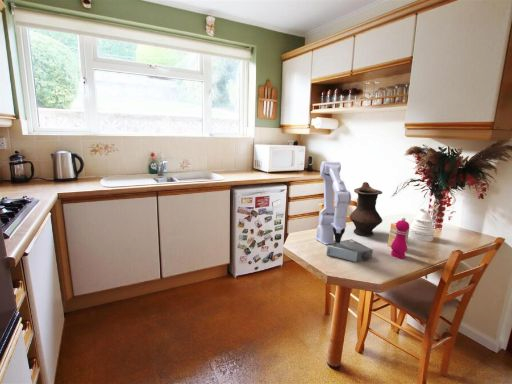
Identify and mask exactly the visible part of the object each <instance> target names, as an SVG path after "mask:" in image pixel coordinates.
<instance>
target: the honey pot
mask: <svg viewBox="0 0 512 384" xmlns="http://www.w3.org/2000/svg"><path fill="white" fill-rule="evenodd" d="M419 211H420V212H419V213H418V214H417V215H416V216H414V217H413V219H414V220H413V221H412V223H411V225H409V234H408V238H409V237H410V238H411V239H412V240H416V241H419V242H428V243H429V242H433V241H434V237H435V230H434V224H433V222H434V219H432V217H431V215H430V213H429V212H428V210H425V208H424V207H419Z"/></svg>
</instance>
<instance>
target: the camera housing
mask: <svg viewBox="0 0 512 384" xmlns="http://www.w3.org/2000/svg"><path fill="white" fill-rule="evenodd" d="M335 247H338V248H342V249H346V250H351V251H355V252H358V253H357V261H356V262H361V261H365V260H368V259H372V257H373V249H372V248H371V247H369V246H366V245H364V244H363V243H360V242H358V241H356V240H354V239H345V240H344V239H343V240H341V241H340V243H336V246H335Z"/></svg>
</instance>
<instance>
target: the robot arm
mask: <svg viewBox="0 0 512 384" xmlns="http://www.w3.org/2000/svg"><path fill="white" fill-rule="evenodd" d="M319 167H320V168H319V171H320V173H319V175H320V178H322V181H323V206H324V207H323V208H322V209H321V210H320V211H319V214H318V226H317V227H316V236H315V238H314V239H315V240H316V241H318V242H320V243H322V244H323V245H327V246H328V245H333V244H337V243H340V241H342V238H343V235H344V233H345V232H346V227H347V225H346V224H347V219H348V218H347V217H348V209H349V204H350V203H351V201H352V194H351V192H350V191H349V190H347V188H346V185H345V182H344V181H343V180H341V175H340V173H341V170H342V165H341V162H340V161H324V160H323V161H321V163H320V166H319Z"/></svg>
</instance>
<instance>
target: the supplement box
mask: <svg viewBox="0 0 512 384" xmlns="http://www.w3.org/2000/svg"><path fill="white" fill-rule="evenodd" d="M396 223H397V222H391V224H390V229H389V234H388V241H387V247H390V248H391V245H392V242H393V241H394V240H395V238H396V234H397V233H396V229H397V228H396ZM409 230H410V228H409V229H408V230H407V234H406V237H405V240H406V244H407V245H408V238H409Z"/></svg>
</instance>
